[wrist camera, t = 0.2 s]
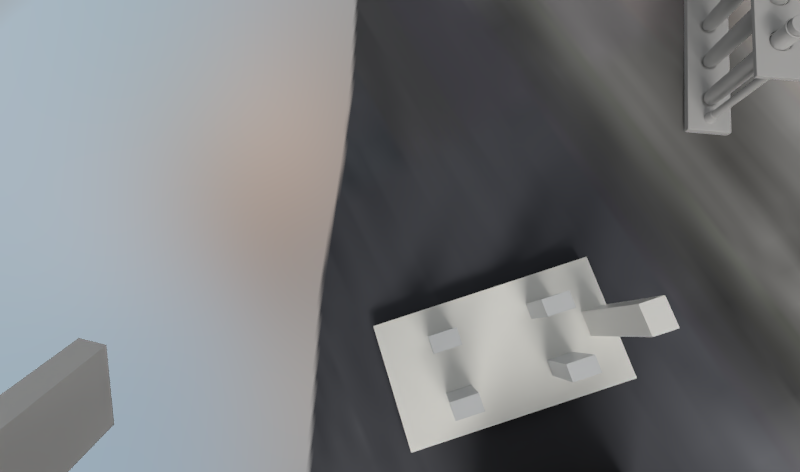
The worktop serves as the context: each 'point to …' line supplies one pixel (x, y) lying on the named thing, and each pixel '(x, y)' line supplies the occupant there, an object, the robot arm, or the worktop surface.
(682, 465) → the worktop surface
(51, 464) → the robot arm
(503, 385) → the white holder stand
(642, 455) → the worktop surface
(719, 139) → the worktop surface
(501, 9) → the worktop surface
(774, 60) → the test tube rack
